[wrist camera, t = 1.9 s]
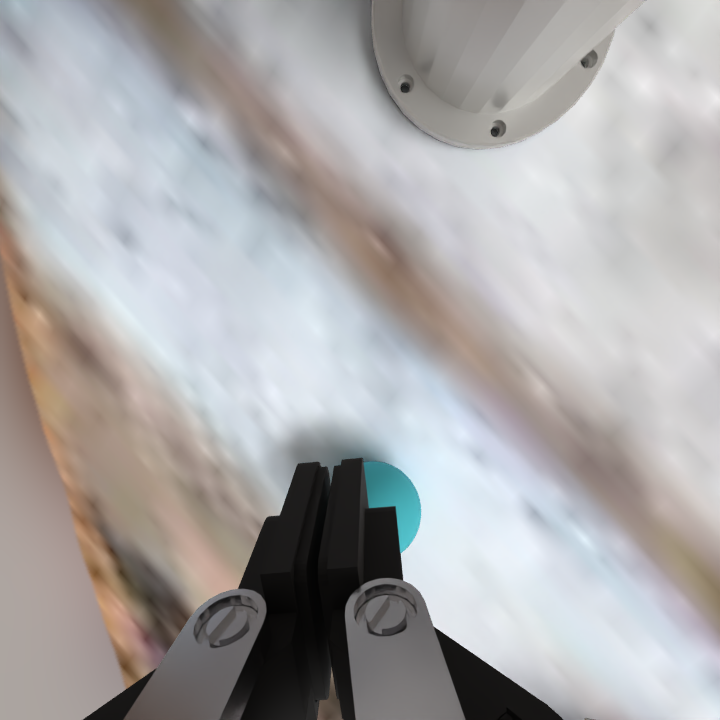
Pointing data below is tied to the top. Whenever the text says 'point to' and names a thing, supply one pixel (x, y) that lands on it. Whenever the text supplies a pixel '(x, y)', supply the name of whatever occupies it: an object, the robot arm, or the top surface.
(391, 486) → the ball
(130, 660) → the top surface
